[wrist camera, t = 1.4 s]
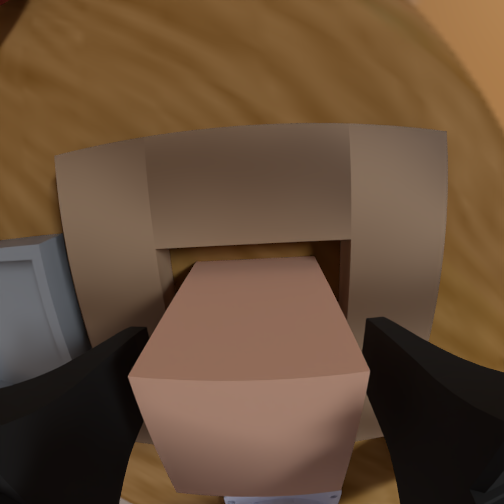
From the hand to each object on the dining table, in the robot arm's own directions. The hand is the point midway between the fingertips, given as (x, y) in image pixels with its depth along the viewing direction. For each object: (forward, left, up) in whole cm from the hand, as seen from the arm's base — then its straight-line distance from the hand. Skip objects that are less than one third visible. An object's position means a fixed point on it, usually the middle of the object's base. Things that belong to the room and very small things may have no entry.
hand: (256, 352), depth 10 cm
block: (0, 0, -3) cm, 3 cm away
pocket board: (0, 0, -3) cm, 3 cm away
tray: (-1, +13, -3) cm, 13 cm away
